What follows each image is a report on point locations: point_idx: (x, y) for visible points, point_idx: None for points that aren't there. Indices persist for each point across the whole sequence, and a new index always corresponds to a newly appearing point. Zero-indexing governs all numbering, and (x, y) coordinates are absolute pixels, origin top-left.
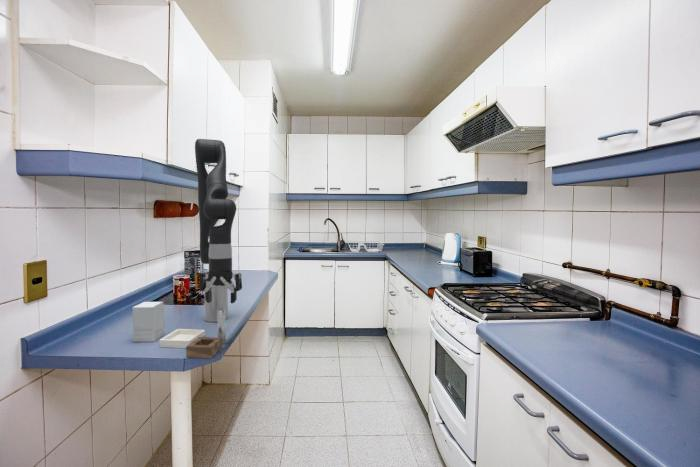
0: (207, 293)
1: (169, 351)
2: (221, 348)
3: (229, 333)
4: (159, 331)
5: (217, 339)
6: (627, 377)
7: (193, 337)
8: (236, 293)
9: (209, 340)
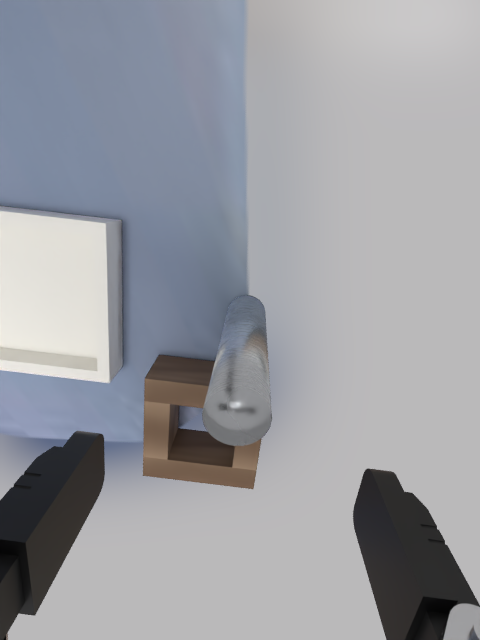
0: (27, 598)
1: (56, 390)
2: None
3: (243, 170)
4: None
5: None
6: None
7: (102, 339)
8: (470, 595)
9: None
